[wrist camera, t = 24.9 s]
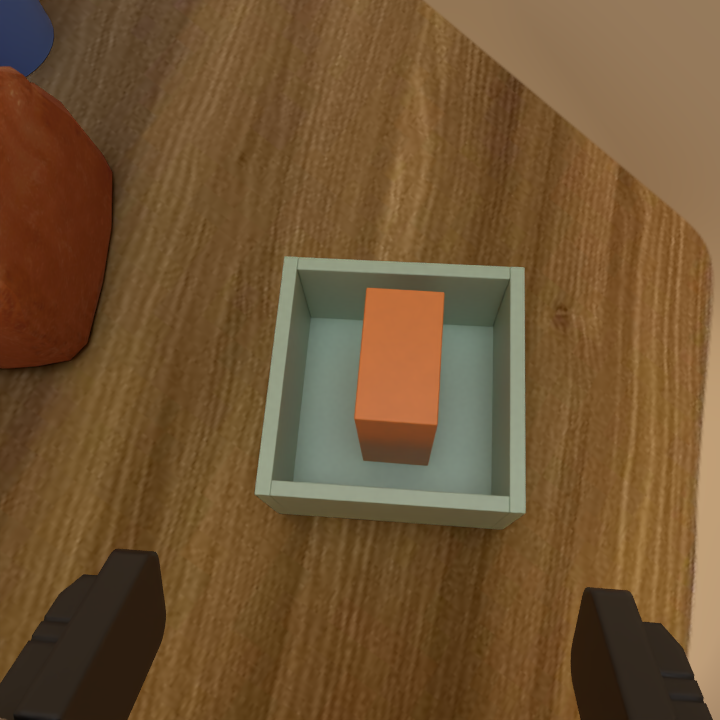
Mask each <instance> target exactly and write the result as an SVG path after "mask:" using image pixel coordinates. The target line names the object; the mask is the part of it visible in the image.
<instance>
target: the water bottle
mask: <svg viewBox="0 0 720 720" xmlns="http://www.w3.org/2000/svg"><path fill="white" fill-rule="evenodd" d="M53 39H54V31H53V26H52V23H51V21H50V19H49V17H48V16H47V14H46V12H45V10H44V9H43V7H42V5H41V4H40V2H39V0H0V66H10V67H12V68H14V69H15V70H17V71H18V72H20V73H21V74H23V75H24V76H25V77H26V76H28V75H29V74H30V73H32V72H33V71H34V70H36V69H37V68H38V67H39V66H40V65H41V64H42V63H43V61H44V60H45V58H46V57H47V55H48V54H49V52H50V49H51V47H52V44H53Z"/></svg>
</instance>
